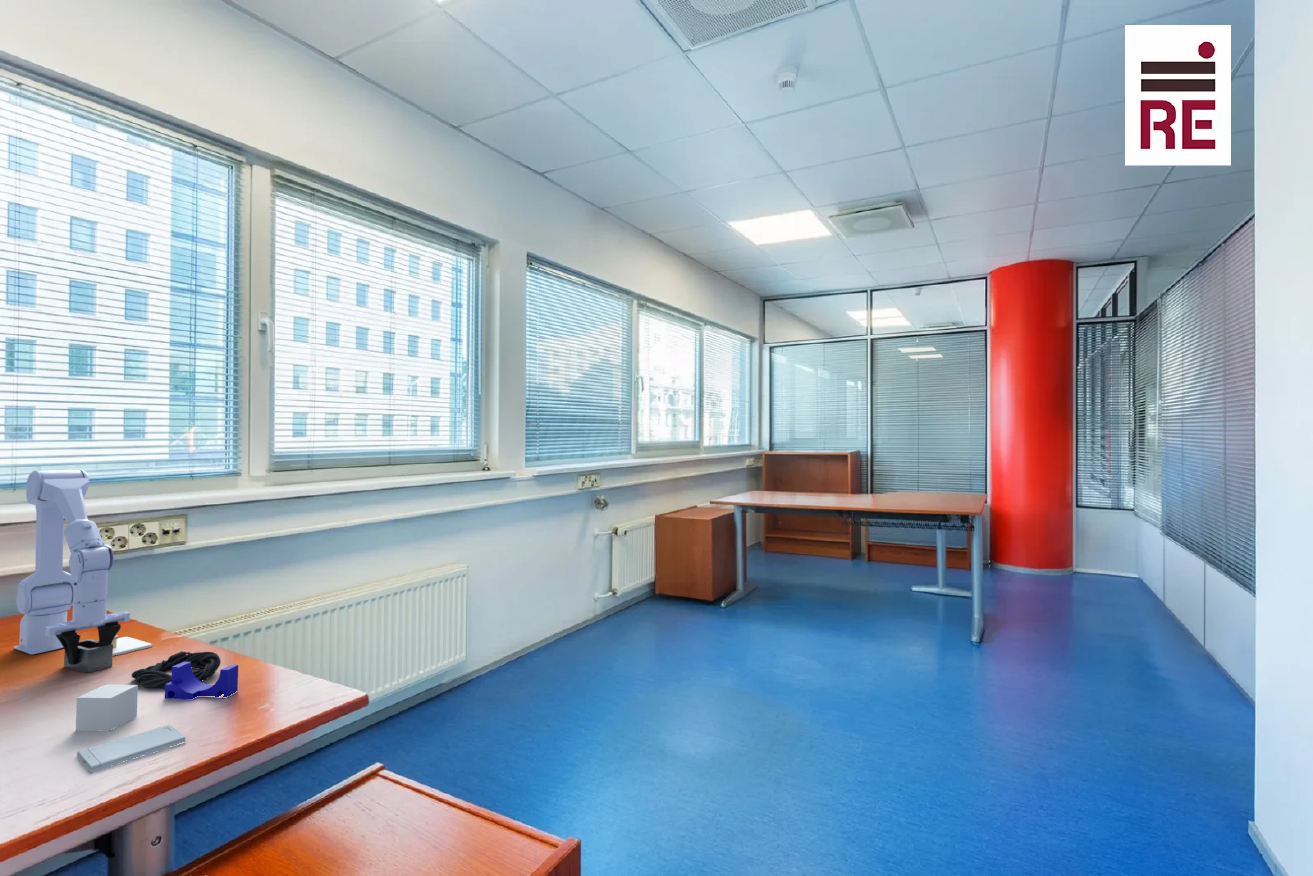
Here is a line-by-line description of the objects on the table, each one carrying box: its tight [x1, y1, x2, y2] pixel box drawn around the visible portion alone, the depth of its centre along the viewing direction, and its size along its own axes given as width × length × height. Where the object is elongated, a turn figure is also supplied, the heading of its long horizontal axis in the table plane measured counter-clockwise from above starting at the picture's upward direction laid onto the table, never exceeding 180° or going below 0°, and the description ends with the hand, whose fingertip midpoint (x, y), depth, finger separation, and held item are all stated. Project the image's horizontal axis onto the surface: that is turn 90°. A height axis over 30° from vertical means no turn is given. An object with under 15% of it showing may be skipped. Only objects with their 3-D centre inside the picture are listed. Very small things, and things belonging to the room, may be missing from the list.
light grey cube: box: [75, 684, 139, 732], centre depth 114 cm, size 6×6×6 cm
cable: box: [131, 651, 221, 689], centre depth 136 cm, size 17×14×4 cm
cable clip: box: [164, 662, 239, 700], centre depth 127 cm, size 12×4×6 cm, turn 86°
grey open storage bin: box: [63, 638, 113, 674], centre depth 140 cm, size 9×5×5 cm, turn 68°
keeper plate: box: [111, 634, 153, 657], centre depth 152 cm, size 12×12×4 cm
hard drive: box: [76, 724, 186, 774], centre depth 105 cm, size 2×8×12 cm
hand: (88, 660), depth 141 cm, fingers open, 5 cm apart
